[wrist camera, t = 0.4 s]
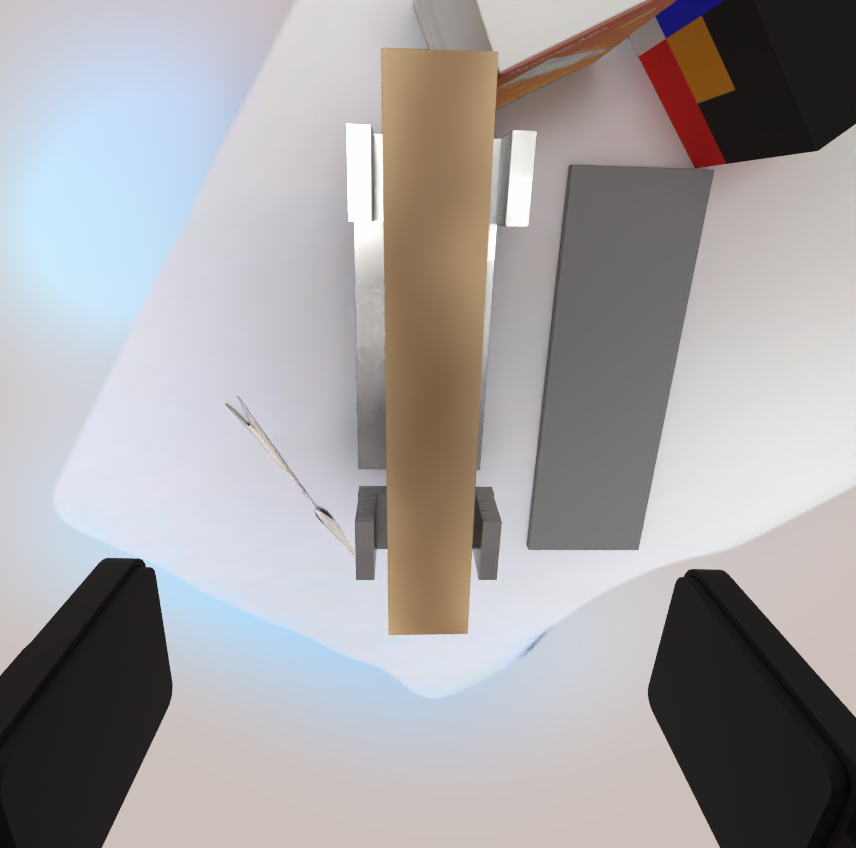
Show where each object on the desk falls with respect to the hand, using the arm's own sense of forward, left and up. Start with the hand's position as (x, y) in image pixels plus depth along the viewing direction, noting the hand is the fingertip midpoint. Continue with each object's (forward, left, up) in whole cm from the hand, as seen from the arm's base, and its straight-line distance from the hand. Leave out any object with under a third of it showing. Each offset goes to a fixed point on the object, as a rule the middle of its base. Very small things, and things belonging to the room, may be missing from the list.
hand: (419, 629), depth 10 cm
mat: (-13, +3, -26) cm, 29 cm away
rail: (-1, -1, -15) cm, 15 cm away
